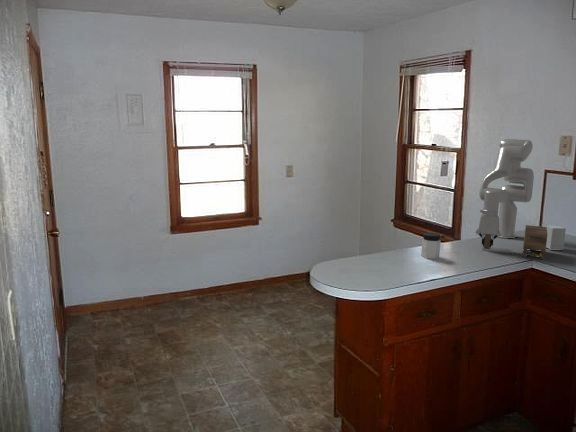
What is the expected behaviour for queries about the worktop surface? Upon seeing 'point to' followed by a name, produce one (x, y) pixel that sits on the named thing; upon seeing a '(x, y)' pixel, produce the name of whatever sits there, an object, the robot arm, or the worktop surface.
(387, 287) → the worktop surface
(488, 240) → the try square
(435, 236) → the jar
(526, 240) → the cabinet
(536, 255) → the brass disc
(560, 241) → the supplement box
